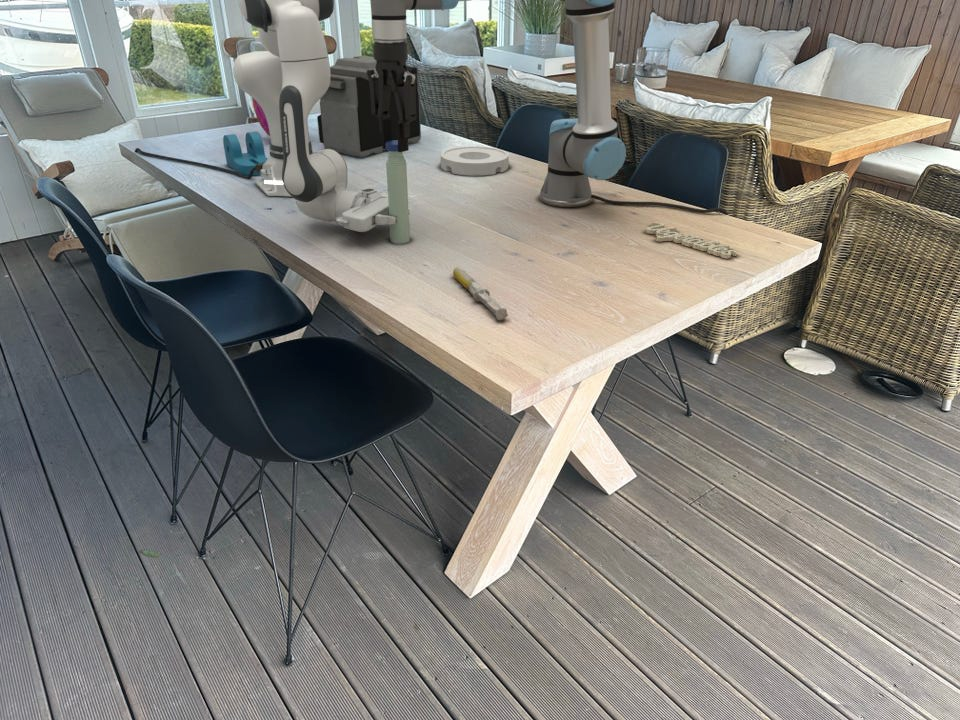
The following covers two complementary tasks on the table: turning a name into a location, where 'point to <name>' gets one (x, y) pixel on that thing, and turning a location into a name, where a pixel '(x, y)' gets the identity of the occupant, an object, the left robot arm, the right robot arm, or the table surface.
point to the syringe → (479, 293)
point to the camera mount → (244, 160)
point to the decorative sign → (689, 240)
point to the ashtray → (474, 160)
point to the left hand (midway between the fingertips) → (402, 216)
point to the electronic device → (357, 110)
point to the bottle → (398, 197)
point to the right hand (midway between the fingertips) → (395, 149)
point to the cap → (392, 145)
